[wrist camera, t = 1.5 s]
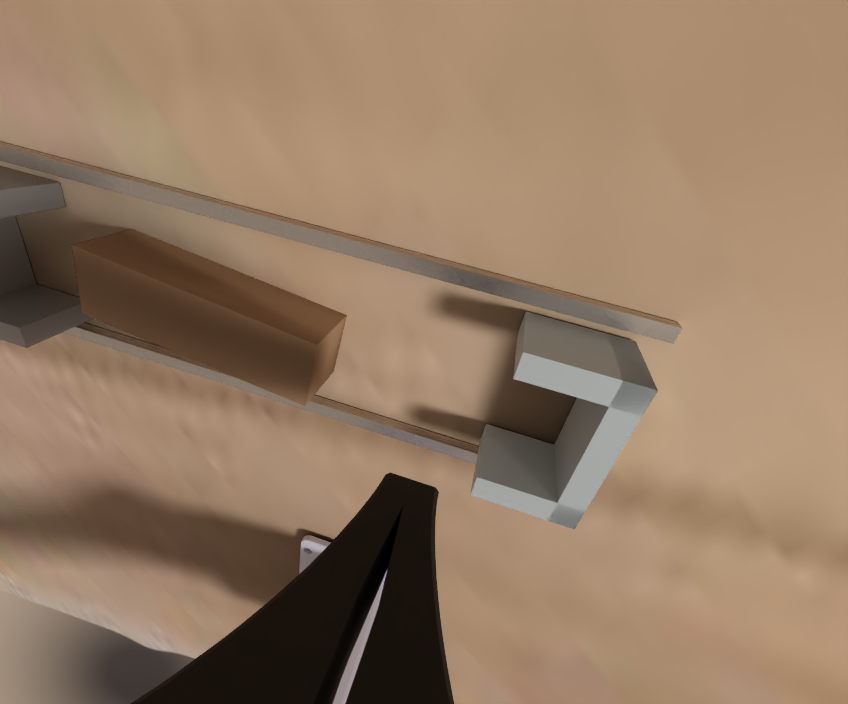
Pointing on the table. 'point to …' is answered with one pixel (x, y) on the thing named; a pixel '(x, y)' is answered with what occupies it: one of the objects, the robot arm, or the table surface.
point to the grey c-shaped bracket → (29, 266)
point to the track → (341, 244)
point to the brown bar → (209, 313)
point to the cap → (584, 427)
